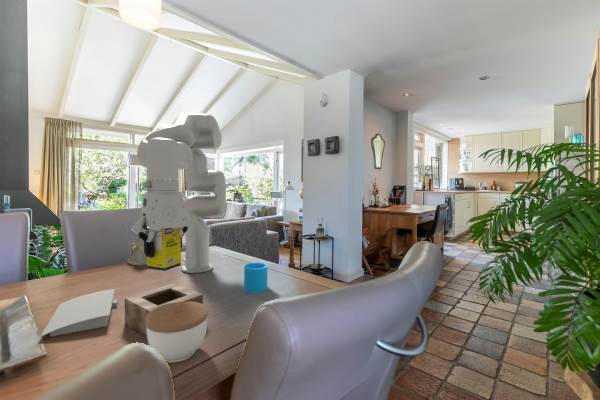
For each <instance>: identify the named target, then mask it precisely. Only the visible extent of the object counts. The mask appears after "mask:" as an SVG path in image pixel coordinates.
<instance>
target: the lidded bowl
mask: <svg viewBox="0 0 600 400" xmlns="http://www.w3.org/2000/svg"><path fill="white" fill-rule="evenodd" d="M208 315H209V309H208V307H207V306H206V305H205V304H204V303H203V304H201V303H198V302H188V301H187V302H176V303H170V304H167V305H163V306H161V307H158V308H156V309H154V310H153V311H151V312H150V313H149V314H148V315H147V316H146V319H145V323H146V332H147V337H146V340H147V342H148V346H149V347H150V346H151V347H153V348H155V349H156V350H157V351H159V353H160V354H161V355H162V356H163V357H164V358H165V360H166V361H167V362H166V363H170V364H171V363H173V364H174V363H179V362H183V361H186V360H188V359H189V358H191V357H192V356H194V354H195V353H196V351H197V350H198V349H199V348H200V347H201V345H202V344H203V342H204V340H205V337H206V335H207V334H206V333H207V329H208V328H207V327H208Z"/></svg>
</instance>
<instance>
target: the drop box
mask: <svg viewBox="0 0 600 400" xmlns="http://www.w3.org/2000/svg"><path fill="white" fill-rule="evenodd" d="M187 301H188V302H198V303H201V304H204V294H203V293H200V292H198V291H195V290H192V289H190V288H187V287H185V286H181V285H179V284H178V283H177V284H176V283H171V284H167V285H164V286H161V287H158V288H154V289H151V290H148V291H145V292H141V293H137V294H132V295H131V296H127V297H124V325H126V326H128V327H129V328H131V329H133V330H134V331H136V333H139V334H141V335H142V336H143V337H145V338H147V332H146V323H145V319H146V316H147V315H148V314H149V313H150V312H151V311H153V310H154V309H156V308H158V307H161V306H163V305H167V304H170V303H176V302H187Z"/></svg>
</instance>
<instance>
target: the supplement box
mask: <svg viewBox="0 0 600 400" xmlns="http://www.w3.org/2000/svg"><path fill="white" fill-rule="evenodd" d="M152 242H154V257H153V258H150V257H147V265H146V268H147V269H148V270H149V269H150V270H157V271H164V272H165V271H169V270H171V269H174V268H177V267H180V266H181V265H182V259H181V255H182V254H181V253H182V251H181V240H180V229H172V228H163V229H161V231H159V232H155V234H154V237H153V239H152Z"/></svg>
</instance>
